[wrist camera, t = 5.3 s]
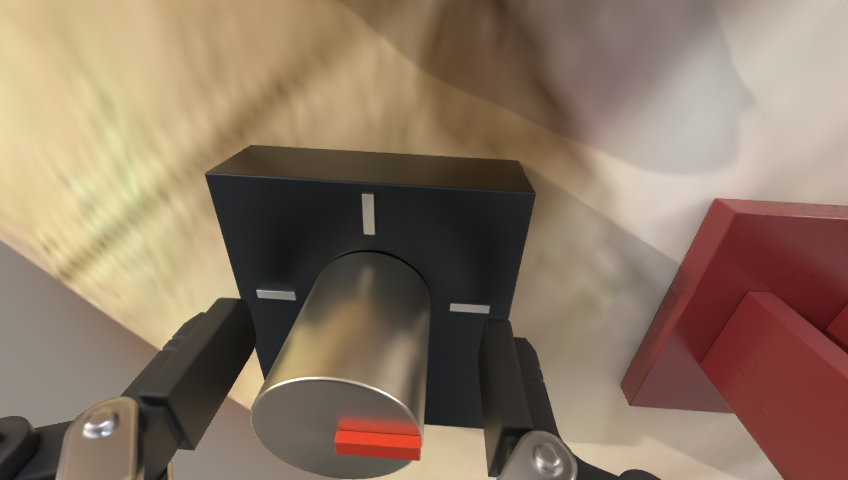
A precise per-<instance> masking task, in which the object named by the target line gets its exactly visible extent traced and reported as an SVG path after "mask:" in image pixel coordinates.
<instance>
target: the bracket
mask: <svg viewBox="0 0 848 480" xmlns="http://www.w3.org/2000/svg"><path fill="white" fill-rule="evenodd" d="M620 387H621V389H622V391H623V393H624V395H625V397H626V399H627V402H628V404H629V405H630V406H638V407H652V408H665V409H679V410H692V411H706V412H719V413H733V414H736V416H737V417H738V419H739V420H740V421H741V423H742V424H743V425H744V427H745V428H746V429H747V431H748V432H749V433H750V435H751V436H752V437H753V439H754V440H755V441H756V443H757V444H758V445H759V447H760V448H761V449H762V451H763V452H764V453H765V455H766V456H767V457H768V459H769V460H770V461H771V463H772V464H773V466H774V467H775V468H776V470H777V471H778V472H779V474H780V475H781V476H782V478H783V479H784V480H848V206H834V205H817V204H800V203H783V202H767V201H750V200H733V199H715V200H714V202H713V203H712V205H711V207H710V209H709V211H708V213H707V215H706V217H705V219H704V221H703V223H702V225H701V227H700V229H699V231H698V233H697V235H696V237H695V239H694V241H693V243H692V245H691V247H690V249H689V251H688V253H687V255H686V257H685V259H684V261H683V263H682V265H681V267H680V269H679V271H678V273H677V275H676V277H675V279H674V281H673V282H672V284H671V286H670V288H669V290H668V292H667V294H666V296H665V298H664V300H663V302H662V304H661V306H660V308H659V310H658V312H657V314H656V316H655V318H654V320H653V322H652V324H651V326H650V328H649V330H648V332H647V334H646V336H645V338H644V340H643V342H642V344H641V346H640V348H639V350H638V352H637V354H636V356H635V358H634V360H633V361H632V363H631V365H630V367H629V369H628V371H627V373H626V375H625V377H624V379H623V381H622V383H621V385H620Z"/></svg>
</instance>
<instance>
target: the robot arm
mask: <svg viewBox="0 0 848 480" xmlns="http://www.w3.org/2000/svg"><path fill="white" fill-rule="evenodd" d="M255 344H256V330H255V326H254V323H253V319H252V315H251V311H250V307H249V304H248V302H247V300H245V299H235V298H219V299H217V300H216V301H215V303H214V304H213V305H212V306H211V307H210V309H209V310H208V311H207V312H206V313H203V312H201V313H199V314H198V315H196V316H195V317H193V318H192V319H190V320H189V321H187V322H186V323H184V324H183V326H182V327H181V328H180V329H179V330H178V331H177V332H176V333H175V335H174V336H173V338H172V340H169V341H168V343H167V344H166V345H165V346H164V347H163V350H162V351H160V352H159V353H158V354H157V355H156V356H155V357H154V359H153V360H152V361H151V362H150V363H149V364H148V365H147V366H146V368H145V369H144V370H143V371H142V372H141V373H140V374H139V376H138V377H137V378H136V379H135V380H134V381H133V382H132V384H131V385H130V386H129V387H128V388H127V389H126V390H125V391H124V393H123V394H122V395H121V396H120V397H114V398H110V399H106V400H104V401H101V402H99V403H97V404H95V405H93V406H91V407H90V408H88V409H87V410H85V411H84V412H83V413H81V414H80V415H79V416H78V417H77V418H76V419H75V420H73V421H68V422H63V423H58V424H54V425H49V426H44V427H39V428H34V427H33V426H32V425H31V424H30V423H29V422H28V421H27V420H26V419H25V418H23V417H20V416H10V417H4V418H0V480H173V467H172V462H171V458H172V457H173V456H174V454H175V452H176V451H177V449H185V450H195V448H196V446H197V445H198V443H199V441H200V440H201V438H202V436H203V435H204V433H205V431H206V429H207V428H208V426H209V425H210V423H211V421H212V420H213V418H214V416H215V414H216V413H217V411H218V409H219V408H220V406H221V404H222V403H223V401H224V399H225V398H226V396H227V394H228V393H229V391H230V389H231V388H232V386H233V384H234V382H235V381H236V379H237V377H238V376H239V374H240V372H241V371H242V369H243V367H244V366H245V364H246V362H247V361H248V359H249V357H250V356H251V354H252V352H253V350H254V347H255ZM478 372H479V383H480V394H481V405H482V415H483V426H484V437H485V447H486V458H487V469H488V477H498V478H497V480H661V479H659V478H658V477H656V476H654V475H652V474H650V473H648V472H646V471H642V470H637V469H632V470H627V471H625V472H623V473H622V474H621V475H620V476H616V475H614V474H611V473H609V472H607V471H604V470H602V469H599V468H597V467H595V466H592V465H590V464H588V463H586V462H584V461H582V460H581V459H579V458H578V457H577V456H575V455H574V454H573V453H572V452H571V450H570V449H569V447H568V446H567V445H566V444H565V443H564V442H563V441H562V439H561V437H560V435H559V433H558V430H557V427H556V423H555V419H554V416H553V412H552V408H551V405H550V401H549V397H548V394H547V390H546V387H545V383H544V382H543V376H542V372H541V370H540V365H539V361H538V357H537V354H536V351H535V350H534V348H533V347H532V346H531V345H530V343H529V342H528V341H527V339H526V338H517V337H513V332H512V328H511V323H510V321H509V320H501V319H488V318H486V319H485V322H484V327H483V332H482V338H481V343H480V348H479V356H478Z"/></svg>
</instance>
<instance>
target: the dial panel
mask: <svg viewBox="0 0 848 480" xmlns="http://www.w3.org/2000/svg"><path fill="white" fill-rule="evenodd" d="M205 176H206V180H207V183H208V187H209V190H210V194H211V197H212V201H213V204H214V207H215V211H216V214H217V218H218V221H219V225H220V228H221V232H222V235H223V239H224V242H225V245H226V249H227V252H228V256H229V259H230V263H231V266H232V270H233V273H234V277H235V280H236V283H237V287H238V290H239V294H240V297H241V299H245V300H247V302H248V304H249V307H250V311H251V315H252V319H253V323H254V326H255V330H256V344H255V349H256V353H257V356H258V359H259V363H260V366H261V370H262V373H263V377H264V380H266V378H267V376H268V374H269V372H270V370H271V368H272V366H273V364H274V362H275V360H276V358H277V356H278V354H279V352H280V350H281V348H282V346H283V344H284V343H285V341H286V339H287V337H288V335H289V333H290V331H291V329H292V327H293V325H294V323H295V321H296V319H297V317H298V315H299V313H300V311H301V309H302V307H303V305H304V303H305V301H306V299H307V298H308V296H309V294H310V292H311V290H312V288H313V286H314V284H315V282H316V280H317V278H318V276H319V274H320V273H321V271H322V270H323V269H324V268H325V267H326V266H327V265H328V264H330V263H331V262H332V261H334V260H336V259H338V258H340V257H342V256H345V255H348V254H353V253H360V252H372V253H380V254H384V255H388V256H391V257H394V258H396V259H398V260H400V261H402V262H404V263H405V264H407V265H409V266H410V267H411V268H412V269H414V270H415V271H416V272H417V273H418V274H419V275H420V277H421V278H422V279H423V281H424V283H425V284H426V286H427V288H428V291H429V294H430V301H431V307H430V325H429V343H428V360H427V378H426V396H425V414H424V424H427V425H440V426H453V427H466V428H479V429H484V426H483V415H482V405H481V394H480V383H479V372H478V356H479V348H480V343H481V338H482V332H483V327H484V322H485V319H486V318H488V319H501V320H508V318H509V313H510V309H511V304H512V300H513V295H514V291H515V286H516V282H517V277H518V273H519V268H520V264H521V259H522V255H523V250H524V246H525V241H526V237H527V232H528V228H529V223H530V219H531V214H532V210H533V205H534V200H535V196H536V193H535V191H534V189H533V187H532V185H531V183H530V181H529V180H528V178H527V176H526V174H525V172H524V170H523V168H522V166H521V165H520V163H519V161H513V160H496V159H479V158H462V157H445V156H427V155H410V154H393V153H376V152H358V151H341V150H324V149H307V148H290V147H272V146H255V145H251V146H249V147H247V148H246V149H244V150H242V151H241V152H239V153H237V154H236V155H234V156H232V157H231V158H229V159H227V160H226V161H224V162H223V163H221V164H219V165H218V166H216V167H214V168H213V169H211V170H209V171H208V172H206V173H205Z"/></svg>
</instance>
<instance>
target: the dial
mask: <svg viewBox="0 0 848 480" xmlns="http://www.w3.org/2000/svg"><path fill="white" fill-rule="evenodd" d="M430 307H431V301H430V294H429V291H428V288H427V286H426V284H425V283H424V281H423V279H422V278H421V277H420V275H419V274H418V273H417V272H416V271H415V270H414V269H412V268H411V267H410V266H409V265H407V264H405V263H404V262H402V261H400V260H398V259H396V258H394V257H391V256H388V255H384V254H380V253H372V252H360V253H353V254H348V255H345V256H342V257H340V258H338V259H336V260H334V261H332V262H331V263H330V264H328V265H327V266H326V267H325V268H324V269H323V270H322V271H321V273H320V274H319V276H318V278H317V280H316V282H315V284H314V286H313V288H312V290H311V292H310V294H309V296H308V298H307V299H306V301H305V303H304V305H303V307H302V309H301V311H300V313H299V315H298V317H297V319H296V321H295V323H294V325H293V327H292V329H291V331H290V333H289V335H288V337H287V339H286V341H285V343H284V344H283V346H282V348H281V350H280V352H279V354H278V356H277V358H276V360H275V362H274V364H273V366H272V368H271V370H270V372H269V374H268V376H267V378H266V380H265V382H264V384H263V386H262V388H261V389H260V391H259V393H258V395H257V397H256V399H255V401H254V403H253V405H252V408H251V414H250V417H251V418H250V420H251V426H252V429H253V431H254V434H255V436H256V437H257V438H258V440H259V441H260V442H261V444H262V445H263V446H264V447H265V448H266V449H267V450H269V451H270V452H271V453H272V454H274V455H275V456H276V457H278V458H279V459H281V460H283V461H284V462H286V463H289V464H290V465H292V466H294V467H297V468H299V469H302V470H304V471H308V472H311V473H315V474H318V475H322V476H327V477H333V478H341V479H367V478H375V477H381V476H384V475H388V474H391V473H394V472H396V471H398V470H400V469H402V468H404V467H406V466H407V465H408V464H410V463H411V462H412V461H413V460H416V461H419V460H420V453H421V447H422V442H423V432H424V414H425V396H426V378H427V360H428V343H429V325H430Z"/></svg>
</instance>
